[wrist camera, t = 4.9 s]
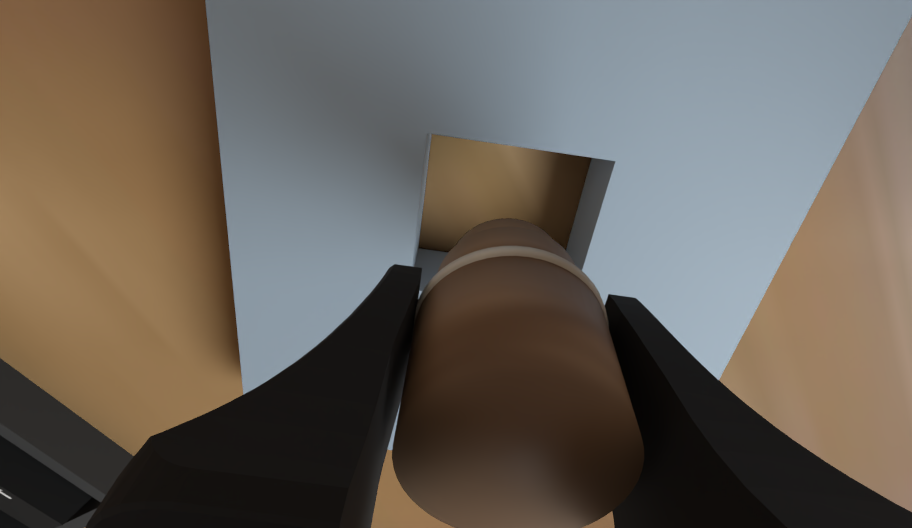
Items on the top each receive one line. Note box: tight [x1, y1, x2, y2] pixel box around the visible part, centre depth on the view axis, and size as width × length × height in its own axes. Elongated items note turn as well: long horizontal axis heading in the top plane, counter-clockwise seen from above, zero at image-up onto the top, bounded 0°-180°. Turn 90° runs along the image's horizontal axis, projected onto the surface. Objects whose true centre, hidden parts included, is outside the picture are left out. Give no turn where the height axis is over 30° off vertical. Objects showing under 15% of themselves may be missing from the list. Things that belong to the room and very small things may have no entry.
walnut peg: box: [392, 219, 644, 528], centre depth 11 cm, size 4×4×6 cm
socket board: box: [205, 0, 912, 450], centre depth 17 cm, size 16×20×2 cm
